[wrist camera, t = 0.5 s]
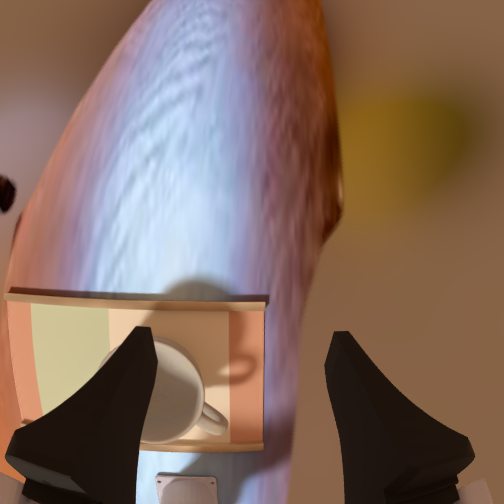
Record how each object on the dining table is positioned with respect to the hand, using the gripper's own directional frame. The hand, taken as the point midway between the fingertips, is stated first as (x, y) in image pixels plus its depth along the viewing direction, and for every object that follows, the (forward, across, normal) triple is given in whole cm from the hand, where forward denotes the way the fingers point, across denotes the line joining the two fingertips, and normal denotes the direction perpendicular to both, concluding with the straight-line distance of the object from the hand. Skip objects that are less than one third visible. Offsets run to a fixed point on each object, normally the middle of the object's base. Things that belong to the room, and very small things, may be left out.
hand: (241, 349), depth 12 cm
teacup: (+14, +8, +21) cm, 27 cm away
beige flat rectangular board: (+14, +14, +21) cm, 29 cm away
